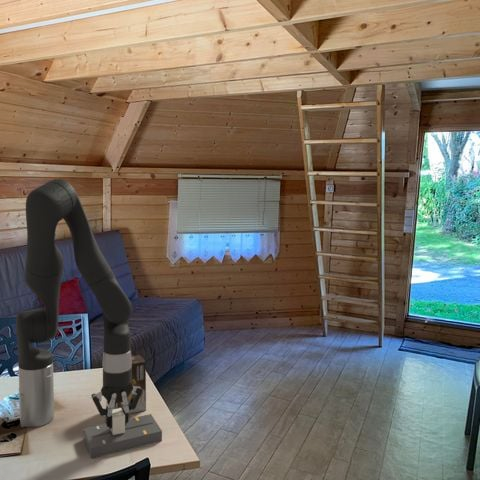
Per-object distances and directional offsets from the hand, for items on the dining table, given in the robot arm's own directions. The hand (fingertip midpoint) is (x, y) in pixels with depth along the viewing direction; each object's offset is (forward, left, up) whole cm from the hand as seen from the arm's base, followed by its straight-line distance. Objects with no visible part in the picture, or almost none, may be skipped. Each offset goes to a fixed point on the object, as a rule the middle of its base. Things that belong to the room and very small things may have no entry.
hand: (117, 425), depth 128 cm
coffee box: (+8, +16, -5) cm, 18 cm away
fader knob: (0, 0, -1) cm, 1 cm away
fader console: (+2, 0, -5) cm, 5 cm away
